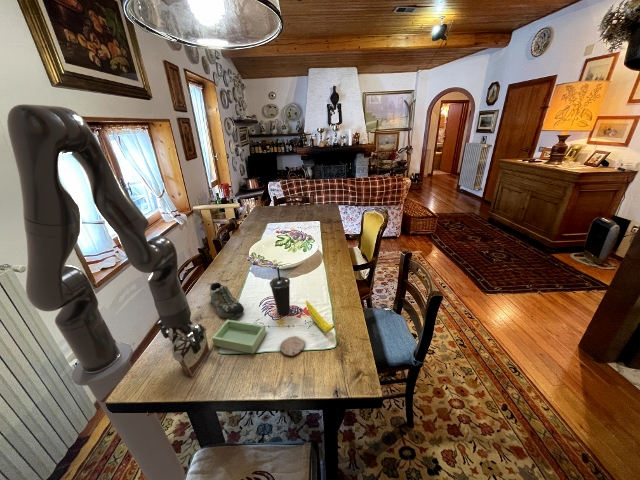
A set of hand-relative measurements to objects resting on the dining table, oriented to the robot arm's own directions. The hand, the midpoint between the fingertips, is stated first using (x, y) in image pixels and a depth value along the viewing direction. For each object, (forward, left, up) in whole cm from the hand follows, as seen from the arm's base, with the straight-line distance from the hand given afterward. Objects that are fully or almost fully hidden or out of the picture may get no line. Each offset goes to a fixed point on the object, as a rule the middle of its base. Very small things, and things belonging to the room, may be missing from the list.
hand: (188, 349), depth 78 cm
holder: (+10, +12, -6) cm, 17 cm away
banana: (+35, +25, -6) cm, 43 cm away
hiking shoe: (-5, +26, -6) cm, 27 cm away
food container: (0, 0, -6) cm, 6 cm away
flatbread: (+29, +13, -6) cm, 32 cm away
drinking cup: (+19, +29, -6) cm, 35 cm away
